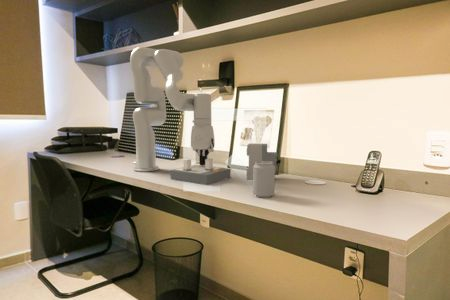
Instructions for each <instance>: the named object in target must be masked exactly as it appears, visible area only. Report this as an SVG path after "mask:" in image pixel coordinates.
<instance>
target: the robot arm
mask: <svg viewBox="0 0 450 300" xmlns="http://www.w3.org/2000/svg"><path fill="white" fill-rule="evenodd" d="M129 62H130V64H129V65H130V70H131V72H132V81H133V97H134V100H135V102H136V103H137V104H139V105H151V106H141V107H137V108H135V109H134V110H133V112H132V121H133V125H134V131H135V133H134V134H135V135H134V136H135V150H136V151H135V156H136V158H135V160H134V161H133V162H132V164H133V165H135V166H134V167H133V171H135V172H143V173H145V172H153V171H154V172H155V171H158V170H159V169H160V166H159V165H157V161H156V159H157V157H156V135H155V131H154V129H153V127H156V126H157V127H158V126H161V125H163V124H165V123H166V119H167V106H166V105H167V104H166V99H167V101H168V102H169V104H170V105H171V107H172V108H173V109H175V110H176V111H179V112H193V119H192V123H193V125H192V127H191V133H190V147H191V148H192V151H193V152H196V153H197V155H198V158H199V165H205V159H207V156H208V157H209V154H210V153H213V152H214V151H215V150H214V148H215V133H214V126H212V96H211V94H210V93H205V92H204V93H203V92H202V93H187V92H186V93H182V92H181V91H180V88H178V86H177V84H178V83H179V82H181V80H182V79H183V77H184V72H183V71H182V67H183V65H184V58H183V55H182V54H181V53H180V52H179V51H176V50H172V49H166V48H159V49H156V48H150V47H146V46H145V47H144V46H138V47H135V48H134V49H133V50H132V52H131V54H130V57H129ZM147 67H152V68H158V70H159V72H160V73H161V75H162V77H163V79H164V80H165V84H164V89H165V90H163V88H162V87H160V86H159V85H152V80H151V79H152V77H151V74H150V71H149V70H148V68H147Z"/></svg>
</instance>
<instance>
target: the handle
mask: <svg viewBox="0 0 450 300" xmlns="http://www.w3.org/2000/svg"><path fill="white" fill-rule="evenodd" d="M182 162H183V163H182V164H183V167H184V169H183V170H192V169H191V166H192V159H190V158H186V159H183V161H182Z"/></svg>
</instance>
